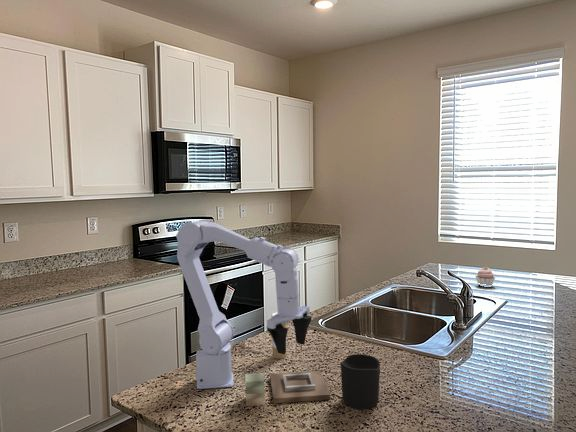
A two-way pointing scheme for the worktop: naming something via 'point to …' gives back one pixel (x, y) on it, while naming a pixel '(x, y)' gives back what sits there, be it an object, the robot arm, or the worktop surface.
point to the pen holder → (360, 381)
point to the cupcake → (485, 276)
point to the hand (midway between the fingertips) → (291, 348)
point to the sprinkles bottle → (275, 353)
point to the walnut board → (298, 387)
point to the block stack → (255, 389)
